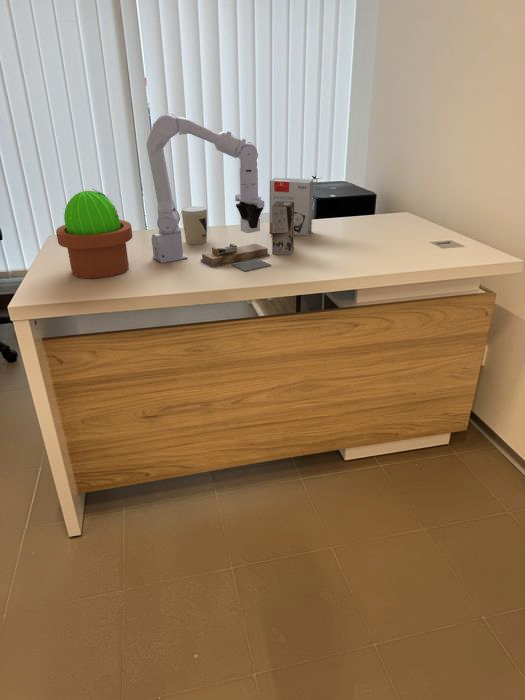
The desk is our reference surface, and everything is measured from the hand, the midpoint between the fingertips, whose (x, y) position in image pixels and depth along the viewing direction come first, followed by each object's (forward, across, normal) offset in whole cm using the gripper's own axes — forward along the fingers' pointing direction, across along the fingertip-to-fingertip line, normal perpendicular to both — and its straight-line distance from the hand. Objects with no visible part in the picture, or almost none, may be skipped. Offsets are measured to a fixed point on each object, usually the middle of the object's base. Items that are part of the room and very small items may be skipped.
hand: (250, 226), depth 171 cm
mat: (+10, -9, +6) cm, 15 cm away
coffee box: (+10, -1, -12) cm, 16 cm away
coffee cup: (+10, +28, +6) cm, 30 cm away
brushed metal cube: (+2, 0, 0) cm, 2 cm away
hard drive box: (+10, +18, -30) cm, 36 cm away
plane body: (+10, +1, +6) cm, 11 cm away
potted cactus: (+10, +15, +46) cm, 50 cm away
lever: (+6, +1, +10) cm, 12 cm away
